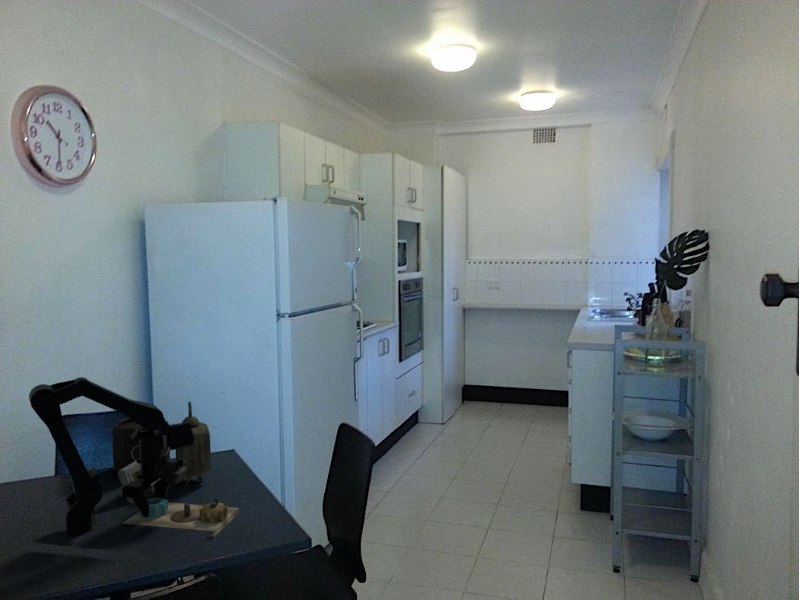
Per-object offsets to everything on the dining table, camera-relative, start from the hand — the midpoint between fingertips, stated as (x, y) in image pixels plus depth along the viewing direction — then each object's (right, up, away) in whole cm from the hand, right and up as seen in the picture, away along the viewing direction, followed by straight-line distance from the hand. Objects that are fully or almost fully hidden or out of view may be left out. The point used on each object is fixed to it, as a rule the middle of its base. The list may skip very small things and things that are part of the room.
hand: (154, 511), depth 168 cm
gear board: (+8, -2, -1) cm, 8 cm away
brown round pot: (-18, +1, +37) cm, 41 cm away
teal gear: (0, -1, 0) cm, 0 cm away
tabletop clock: (+2, 0, +25) cm, 25 cm away
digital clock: (-9, -1, +15) cm, 17 cm away
